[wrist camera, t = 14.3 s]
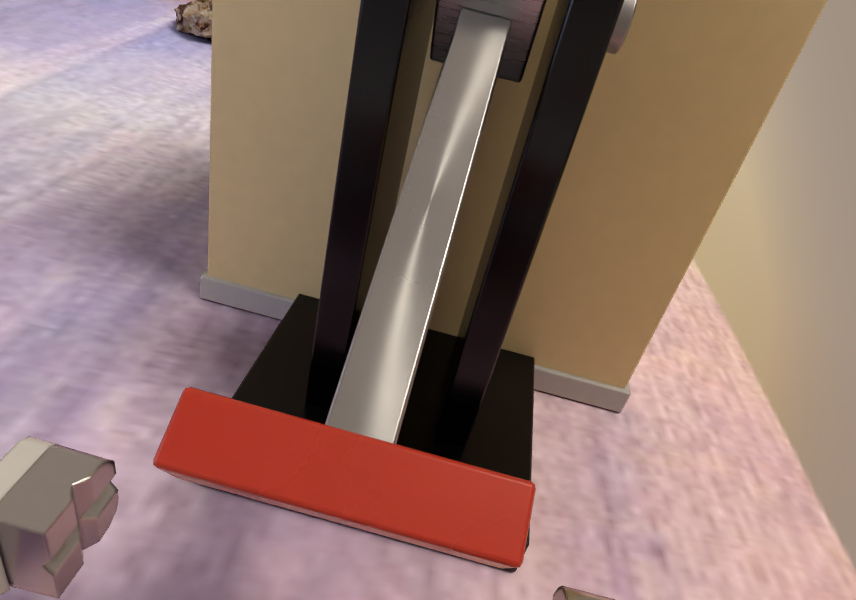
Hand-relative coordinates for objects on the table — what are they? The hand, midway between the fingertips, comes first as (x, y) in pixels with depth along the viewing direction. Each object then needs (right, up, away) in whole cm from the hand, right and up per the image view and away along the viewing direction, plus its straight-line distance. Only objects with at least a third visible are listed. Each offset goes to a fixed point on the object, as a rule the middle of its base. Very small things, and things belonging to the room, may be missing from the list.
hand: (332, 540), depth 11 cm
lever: (+2, +6, +2) cm, 7 cm away
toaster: (+2, +5, +17) cm, 18 cm away
